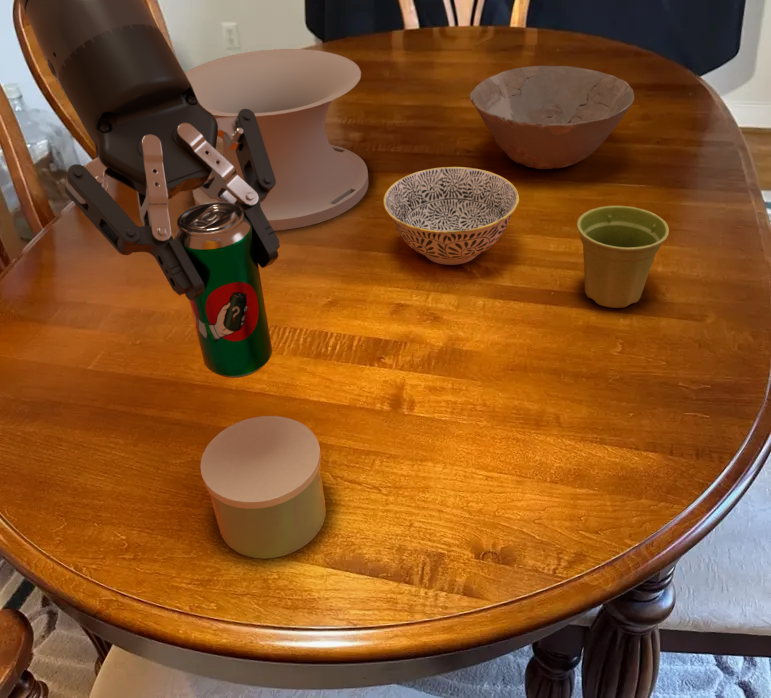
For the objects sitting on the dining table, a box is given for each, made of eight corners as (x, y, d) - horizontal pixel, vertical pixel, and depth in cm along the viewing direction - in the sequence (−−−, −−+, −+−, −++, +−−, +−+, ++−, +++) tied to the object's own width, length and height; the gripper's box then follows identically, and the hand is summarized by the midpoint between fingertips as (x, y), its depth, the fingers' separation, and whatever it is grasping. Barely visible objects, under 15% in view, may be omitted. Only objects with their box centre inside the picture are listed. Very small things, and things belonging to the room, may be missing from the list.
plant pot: (571, 268, 95) (578, 202, 89) (654, 274, 93) (666, 207, 87) (567, 313, 88) (575, 245, 82) (657, 321, 86) (671, 251, 80)
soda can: (286, 351, 60) (264, 207, 53) (245, 390, 57) (215, 243, 49) (234, 332, 62) (205, 192, 55) (190, 369, 59) (154, 225, 51)
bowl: (488, 298, 91) (489, 240, 86) (364, 270, 97) (359, 214, 92) (533, 232, 102) (537, 178, 97) (419, 210, 108) (418, 158, 103)
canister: (222, 573, 63) (206, 514, 58) (210, 487, 70) (195, 430, 66) (339, 544, 64) (331, 484, 60) (316, 463, 72) (307, 405, 67)
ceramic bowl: (647, 143, 121) (657, 77, 115) (588, 207, 106) (596, 136, 100) (514, 117, 131) (517, 56, 125) (443, 173, 116) (442, 106, 110)
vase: (165, 224, 108) (137, 112, 99) (232, 147, 127) (214, 47, 118) (342, 237, 103) (331, 120, 94) (385, 154, 122) (380, 50, 113)
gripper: (3, 50, 46) (147, 305, 46) (216, -2, 53) (341, 219, 53) (2, 114, 53) (128, 338, 53) (192, 60, 60) (303, 257, 60)
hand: (235, 277), depth 53 cm, fingers closed on soda can, 5 cm apart
